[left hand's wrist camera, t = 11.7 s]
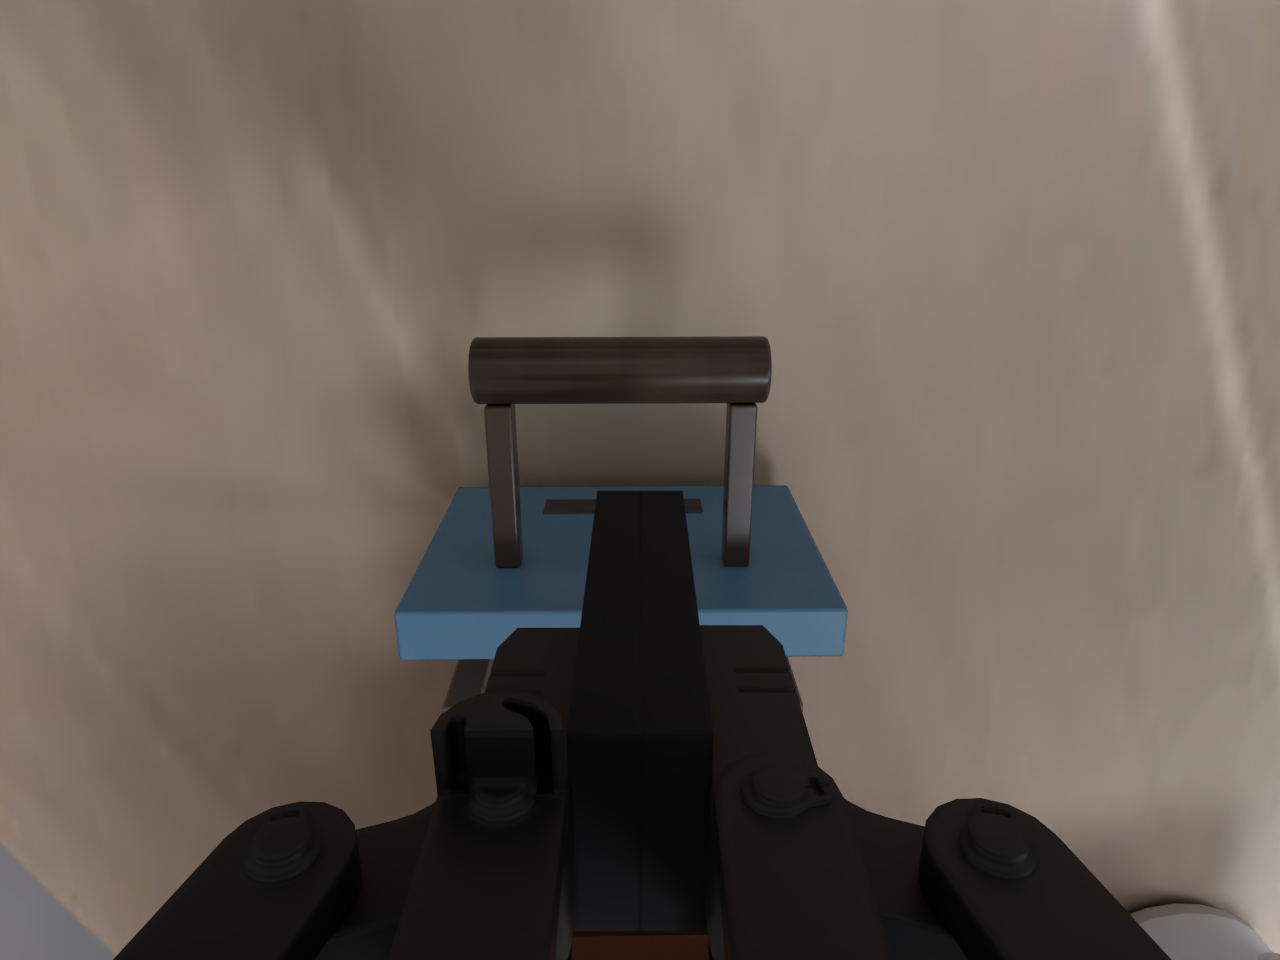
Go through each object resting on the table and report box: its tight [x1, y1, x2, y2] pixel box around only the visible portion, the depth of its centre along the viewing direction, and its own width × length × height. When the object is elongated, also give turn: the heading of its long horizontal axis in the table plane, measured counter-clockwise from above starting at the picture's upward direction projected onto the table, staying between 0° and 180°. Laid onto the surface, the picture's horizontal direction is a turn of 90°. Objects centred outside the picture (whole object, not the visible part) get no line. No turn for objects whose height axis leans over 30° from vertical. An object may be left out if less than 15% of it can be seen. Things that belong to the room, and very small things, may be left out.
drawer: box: [394, 336, 848, 936], centre depth 22 cm, size 19×10×7 cm, turn 0°
